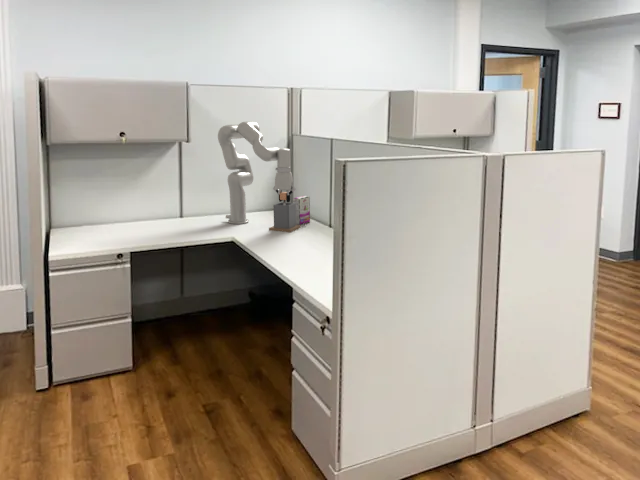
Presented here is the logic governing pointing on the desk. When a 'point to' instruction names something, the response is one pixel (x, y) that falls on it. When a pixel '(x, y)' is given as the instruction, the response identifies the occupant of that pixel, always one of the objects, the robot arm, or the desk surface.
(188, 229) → the desk surface
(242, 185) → the robot arm
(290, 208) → the press housing
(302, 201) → the candy bar box
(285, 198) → the plunger
